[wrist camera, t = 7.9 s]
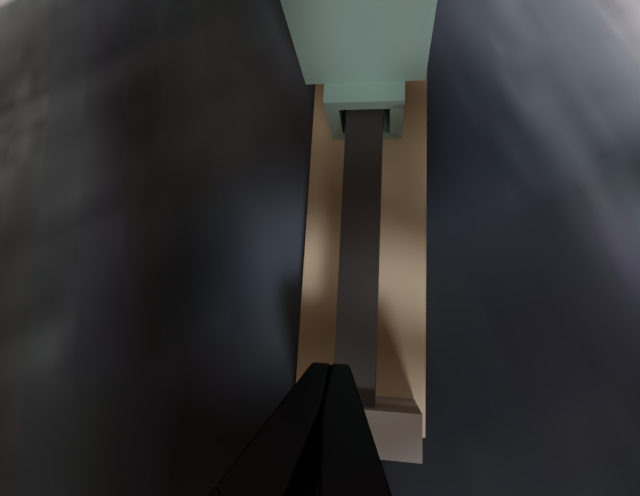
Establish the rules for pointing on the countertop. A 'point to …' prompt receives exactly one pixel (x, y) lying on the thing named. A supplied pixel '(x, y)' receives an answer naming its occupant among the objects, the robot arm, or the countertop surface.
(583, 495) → the countertop surface
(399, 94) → the grey-green notched block
